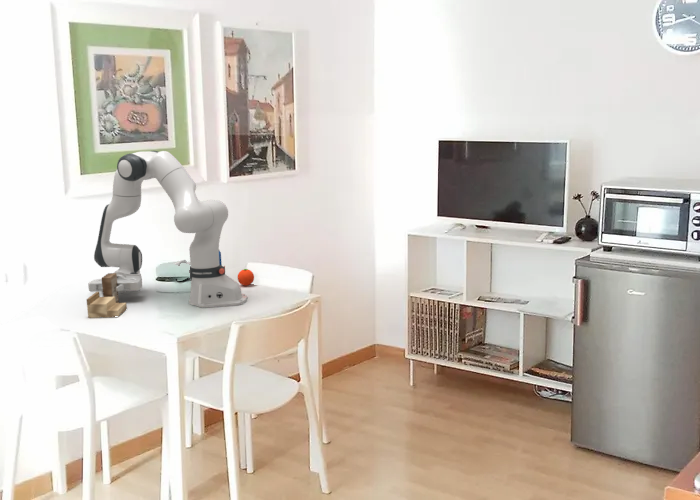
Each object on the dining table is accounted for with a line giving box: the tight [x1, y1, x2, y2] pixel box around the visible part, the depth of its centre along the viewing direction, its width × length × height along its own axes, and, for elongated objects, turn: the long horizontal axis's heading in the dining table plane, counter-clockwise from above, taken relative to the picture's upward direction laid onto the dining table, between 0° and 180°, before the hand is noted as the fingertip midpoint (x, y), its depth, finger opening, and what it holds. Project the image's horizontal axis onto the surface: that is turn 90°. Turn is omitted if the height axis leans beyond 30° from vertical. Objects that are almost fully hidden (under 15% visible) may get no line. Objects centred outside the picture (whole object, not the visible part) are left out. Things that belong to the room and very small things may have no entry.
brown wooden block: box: [101, 272, 120, 303], centre depth 306 cm, size 3×8×12 cm, turn 179°
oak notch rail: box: [86, 292, 128, 319], centre depth 296 cm, size 11×11×7 cm
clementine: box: [237, 268, 255, 287], centre depth 334 cm, size 8×7×7 cm
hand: (109, 289), depth 305 cm, fingers closed on brown wooden block, 3 cm apart
